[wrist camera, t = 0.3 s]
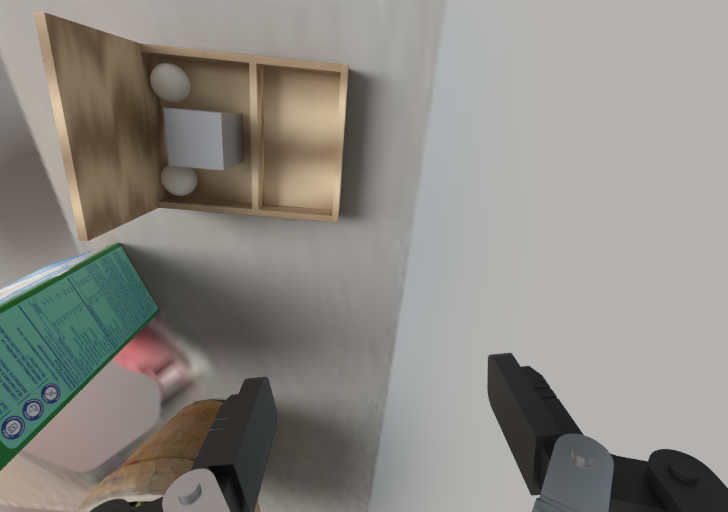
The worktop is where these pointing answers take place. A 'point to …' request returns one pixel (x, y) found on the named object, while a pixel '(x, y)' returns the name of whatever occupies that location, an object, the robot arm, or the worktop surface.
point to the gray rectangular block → (204, 138)
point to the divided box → (208, 92)
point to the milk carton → (63, 336)
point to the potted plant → (159, 459)
